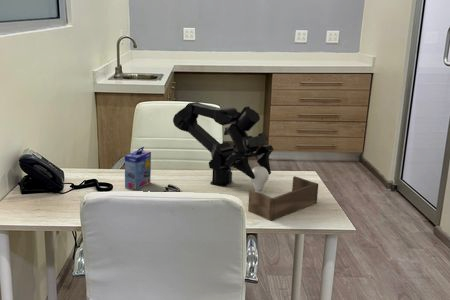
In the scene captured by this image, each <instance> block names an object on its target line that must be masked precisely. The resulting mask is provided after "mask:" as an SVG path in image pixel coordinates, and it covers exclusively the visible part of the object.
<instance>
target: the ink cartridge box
mask: <svg viewBox="0 0 450 300" xmlns="http://www.w3.org/2000/svg"><path fill="white" fill-rule="evenodd" d="M144 148H145V146H141V147H140V148H138V149H137V150H135V151H133V152H130V153H128V154H126V155H124V188H127V189H131V190H134V191H137V190H139V189H141V188H143V187H145V186H147V185H148V184H150V183H151V171H152V169H151V168H152V165H151V164H152V152H151V151H148V150H144Z"/></svg>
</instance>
